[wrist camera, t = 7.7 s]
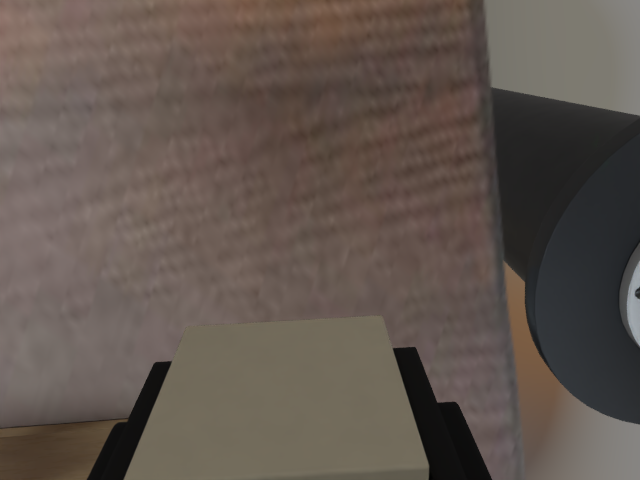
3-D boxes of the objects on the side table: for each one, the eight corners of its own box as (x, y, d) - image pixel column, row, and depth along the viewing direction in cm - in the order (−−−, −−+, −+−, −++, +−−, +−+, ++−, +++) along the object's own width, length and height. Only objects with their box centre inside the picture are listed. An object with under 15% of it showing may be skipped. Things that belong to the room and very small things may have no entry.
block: (382, 313, 11) (430, 466, 7) (382, 465, 13) (421, 661, 9) (186, 325, 11) (119, 485, 7) (210, 476, 13) (166, 680, 9)
